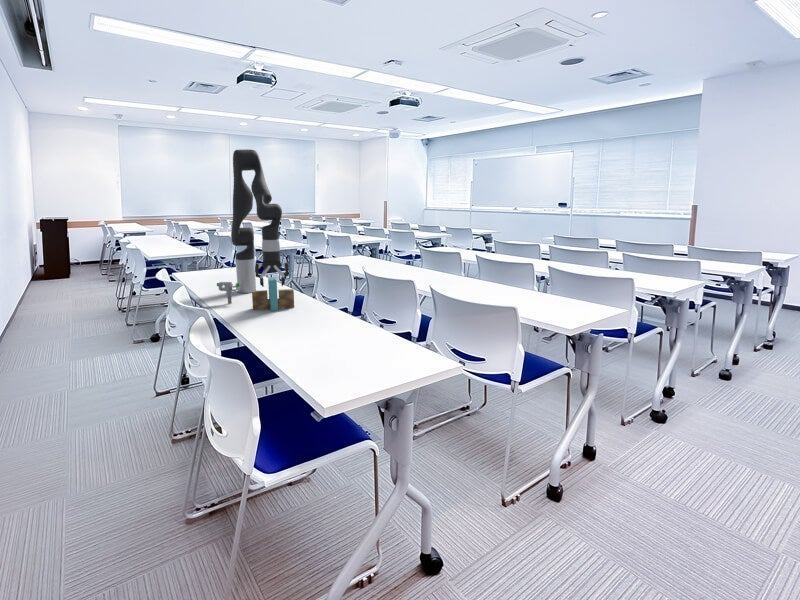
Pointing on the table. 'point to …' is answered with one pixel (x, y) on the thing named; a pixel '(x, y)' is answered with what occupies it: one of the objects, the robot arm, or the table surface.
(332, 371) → the table surface
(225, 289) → the mechanical component
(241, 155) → the robot arm
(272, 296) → the teal notched block
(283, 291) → the walnut slotted plate
